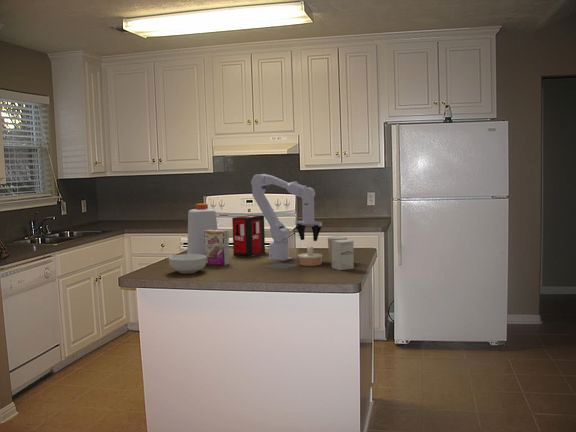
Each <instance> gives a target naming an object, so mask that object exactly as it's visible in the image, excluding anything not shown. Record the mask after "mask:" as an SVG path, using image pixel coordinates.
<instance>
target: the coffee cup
mask: <svg viewBox="0 0 576 432" xmlns="http://www.w3.org/2000/svg"><path fill="white" fill-rule="evenodd" d="M326 240H327V247H328V248H327V249H328V257H329V263H331V264H332V241H334V240H348V238H347V236H341V235H339V236H338V235H337V236H329V237H327V239H326Z"/></svg>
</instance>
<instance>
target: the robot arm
mask: <svg viewBox="0 0 576 432" xmlns="http://www.w3.org/2000/svg"><path fill="white" fill-rule="evenodd" d="M250 185H251V189H252V191H251V193H252V197H253V199H254V200H255V203H256V204H257V206H258V207H259V209H260V211H261V212H262V215H264V219H265V220H266V221H267V223H268V225H269V230H270V234H271V238H272V240H271V241H270V242H269V246H268V258H267V259H268V260H272V261H273V260H274V261H287V260H290V259H292V257H290V254H289V251H290V250H289V239H288V238H290V235H291V232H290V230H289V228H288V227H286V226H285V225H284V223H283V222H281V221H280V219H279V218H278V216H277V214H276V212H275V211H274V209H273V207H272V206H271V204H270V202H269V200H268V199H267V196H266V195H265V194H266V189H267V188H268V187H269V185H274V186H277V187H279V188H283V189H286V191H287V192H288V193H289V194H291V195H294V196H297V197H298V198H301V203H302V205H301V207H302V208H301V209H302V210H301V211H302V212H301V213H302V220H295V222H294V223H295V229H296V231H297V232H298V235H299V238H300V241H303V240H305V230H306V226H307V227H310V226H311V230H312V235H313V238H312V240H313V242H317V241H318V240H319V239H318V238H319V234H320V231H321V229H322V226H323V221H317V220H315V200H314V199H315V197H316V191H315V189H314V188H313V187H310V186H309V187H307V185H302V184H300V183H298V181H296V180H295V181H291V182H288V181H285V180H283V179H281V178H279V177H276V176H274V175H271V174H267V173H262V174H260V173H259V174H258V173H257V174H254V175H253V176H252V179H251V181H250Z"/></svg>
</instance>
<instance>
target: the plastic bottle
mask: <svg viewBox="0 0 576 432" xmlns="http://www.w3.org/2000/svg"><path fill="white" fill-rule="evenodd" d="M208 206H209V205H208V203H196V204H195V208H193V209H189V210H188V212H187V213H188V214H187V215H188V216H187V217H188V218H187V244H186V245H187V249H186V250H187V251H186V254H199V255H205V242H204V231H205V230H219V229H218V221H217V220H218V219H217V211H216V210H215V209H212V208H209V207H208Z"/></svg>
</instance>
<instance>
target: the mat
mask: <svg viewBox="0 0 576 432" xmlns="http://www.w3.org/2000/svg"><path fill="white" fill-rule="evenodd" d="M297 266H299V264H297V263H296V264H294V263H284V262H275V263H272V264H269V265H265V266H263V267H264V268H270V269H279V270H287V269H289V268H290V269H291V268H293V267H297Z"/></svg>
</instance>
